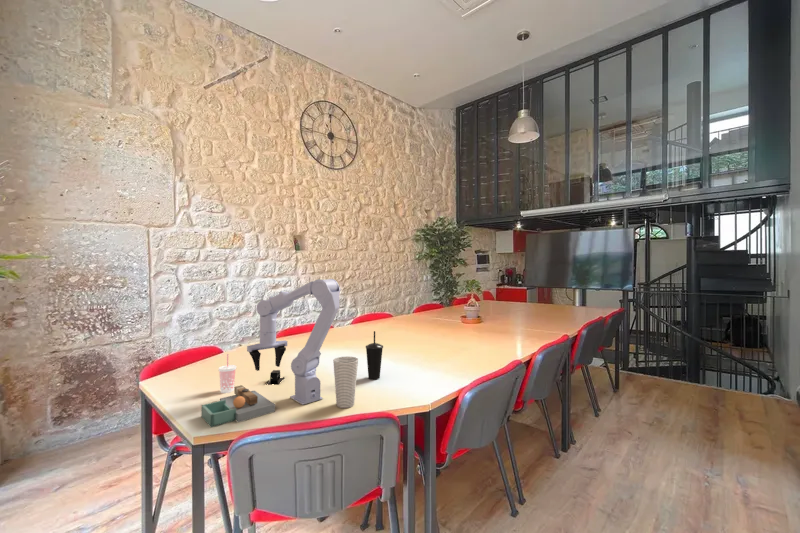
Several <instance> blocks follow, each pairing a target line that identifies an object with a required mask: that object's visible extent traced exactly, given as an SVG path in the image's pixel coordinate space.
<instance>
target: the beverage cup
mask: <svg viewBox="0 0 800 533" xmlns="http://www.w3.org/2000/svg"><path fill="white" fill-rule="evenodd" d="M236 369H237V365H234V364H229V353H226V365H221V366H219V367H218V372H219V386H220V393H221V394H228V393H232V392H234V387H235V382H236V381H235V380H236V379H235V378H236Z"/></svg>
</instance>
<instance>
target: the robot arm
mask: <svg viewBox="0 0 800 533" xmlns="http://www.w3.org/2000/svg"><path fill="white" fill-rule="evenodd" d="M341 290H342V289H341V288H340V285H339V283H338V281H337V280H336V279H334V278H326V279H324V278H323V279H321V278H319V279H314V280H313V281H309V282H307V283H305V284H303V285H302V286H300V287H297V288H296V289H294V290H292V291H284V290H281V291H279V292H278V294H276V295H274V296H269V297H268V299H261V300H260V301H259V302H258V303H257V305H256V312H257V314H258V315H259V343H255V344H252V345H251V344H249V345H246V351H247V352H248V354H249V355H250V357H251V358H252V361H253V365H254V368H255V371H256V372H258V371H260V368H261V367H260V364H261V363H260V361H261V360H260V359H261V355H262V353H261V352H260V351H261V350H268V349H274V353H275V354H274V356H275V358H274V359H275V362H274V363H275V366H276V367H277V368H279V367H281V366H280V365H281V362H282V358H283V356H284V354H285V352H286V350H287V349H286V348H287V347H288V341H287V340H277V317H278V313H279V312H280V311H282V310H284V309H287V308H288V307H291V306H292V305H293V304H294V302H295V301H296V300H299V299H300V298H305V296H308V295H312V296H314V298H315V299H316V300H317V302H318V303H319V304H320V305H321V310H320V313H319V315H318V318H317V319H316V322H315V324H314V326H313V328H312V331H311V332H310V335H309V336H308V339H307V340H306V343H305V345H304V347H303V348H302V349H301V350H300V351H299V352H298V354H297V356H296V357H294V358H293V359H292V361H291V363H290V369H291V371H292V373H293V375H294V395H293V394H292V395H290V396H289V397H290V399H292V400H293V401H296V402H297V403H299V404H301V405H307V404H310V403H313V402H316V401H321V400H323V397H322V396H321V380H320V379H319V377H318V376H317V368H318V367H319V364H320V357H321V355H322V353H321V351H320V350H321V348H322V346H323V344H324V341H325V340H326V337H327V335H328V333H329V331H330V329H331V327H332V325H333V322H334V320H335V318H336V316H337V313H338V311H339V310H340V293H341Z"/></svg>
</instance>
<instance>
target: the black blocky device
mask: <svg viewBox="0 0 800 533" xmlns="http://www.w3.org/2000/svg"><path fill="white" fill-rule="evenodd" d="M280 377H281V370H280V369H277V370H275V369H273V370H272V371H271V372H270V378H269V380H270V381H269V380H268V381H269V382H268V381H267V382H268V383H267V382H266V383H267V384H268V385H267V384H266V383H265V384H266V386H275V385H276V386H280V385H281V383H282V382H283V381H282V380H284V379H283V378H280ZM281 381H282V382H281ZM280 382H281V383H280ZM272 384H274V385H272Z"/></svg>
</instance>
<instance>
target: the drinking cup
mask: <svg viewBox="0 0 800 533" xmlns="http://www.w3.org/2000/svg"><path fill="white" fill-rule="evenodd" d="M365 349H366V350H365V351H366V364H367V374H368V375H367V376H368V379H369V380H372V381H373V380H379V379H380V378H381V370H382V369H381V368H382V358H383V357H382V356H383V349H384V345H382V344H380V343H377V342H376V331H373V342H371V343H368V344H366V345H365Z"/></svg>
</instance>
